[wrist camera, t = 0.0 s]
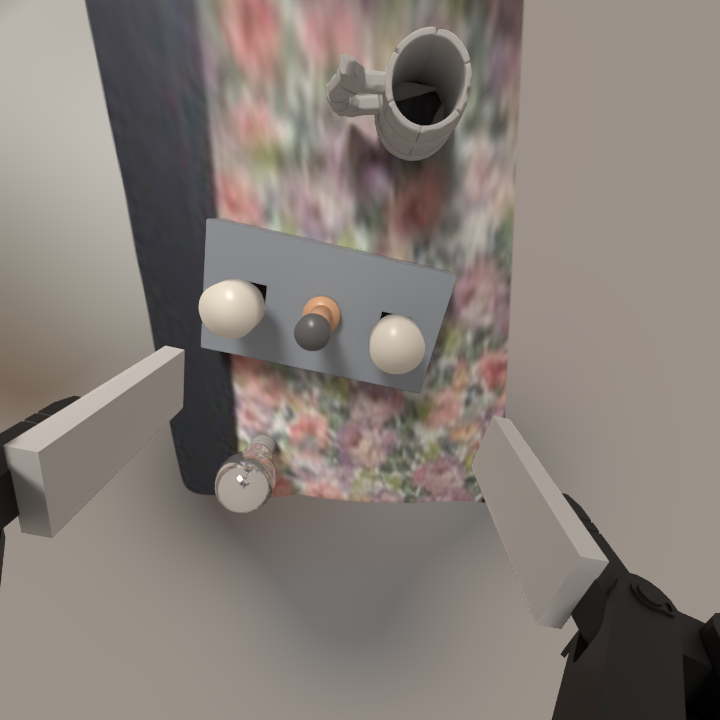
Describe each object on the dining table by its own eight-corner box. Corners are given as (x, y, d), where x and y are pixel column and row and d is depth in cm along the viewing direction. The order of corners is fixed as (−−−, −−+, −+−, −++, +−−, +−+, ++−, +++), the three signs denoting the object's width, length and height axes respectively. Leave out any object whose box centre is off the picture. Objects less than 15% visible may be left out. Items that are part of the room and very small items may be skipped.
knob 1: (230, 267, 37) (199, 277, 30) (278, 278, 37) (258, 290, 31) (226, 313, 39) (197, 332, 32) (272, 323, 39) (252, 344, 32)
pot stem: (307, 291, 37) (292, 308, 30) (343, 299, 37) (337, 318, 30) (301, 326, 38) (286, 350, 31) (336, 334, 38) (329, 359, 32)
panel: (222, 218, 38) (206, 218, 34) (448, 271, 39) (456, 276, 36) (215, 336, 43) (200, 347, 40) (415, 378, 45) (419, 393, 41)
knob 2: (375, 300, 38) (376, 316, 31) (421, 310, 38) (432, 329, 31) (365, 343, 40) (364, 368, 33) (409, 353, 40) (416, 379, 33)
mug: (445, 165, 35) (480, 141, 24) (331, 157, 35) (313, 128, 24) (458, 74, 33) (504, -2, 21) (334, 65, 33) (315, -15, 21)
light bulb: (231, 434, 49) (190, 497, 38) (267, 409, 47) (235, 468, 36) (264, 466, 51) (234, 535, 40) (300, 444, 49) (279, 509, 38)
